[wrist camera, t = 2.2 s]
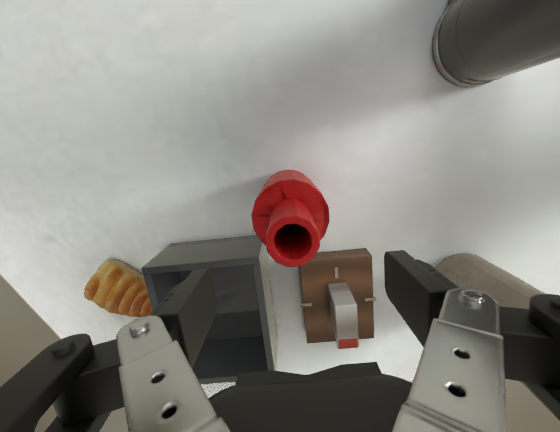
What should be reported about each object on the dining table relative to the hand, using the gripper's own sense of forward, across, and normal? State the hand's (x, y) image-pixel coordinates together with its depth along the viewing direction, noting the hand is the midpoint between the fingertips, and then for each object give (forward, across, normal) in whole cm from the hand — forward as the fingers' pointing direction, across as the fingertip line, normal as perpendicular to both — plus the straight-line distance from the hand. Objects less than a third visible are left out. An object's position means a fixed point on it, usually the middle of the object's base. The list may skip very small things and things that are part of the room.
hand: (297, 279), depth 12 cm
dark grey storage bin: (+22, +10, +12) cm, 27 cm away
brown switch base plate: (+22, -5, +14) cm, 26 cm away
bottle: (+22, 0, 0) cm, 22 cm away
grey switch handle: (+19, -5, +14) cm, 24 cm away
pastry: (+22, +24, +10) cm, 34 cm away
